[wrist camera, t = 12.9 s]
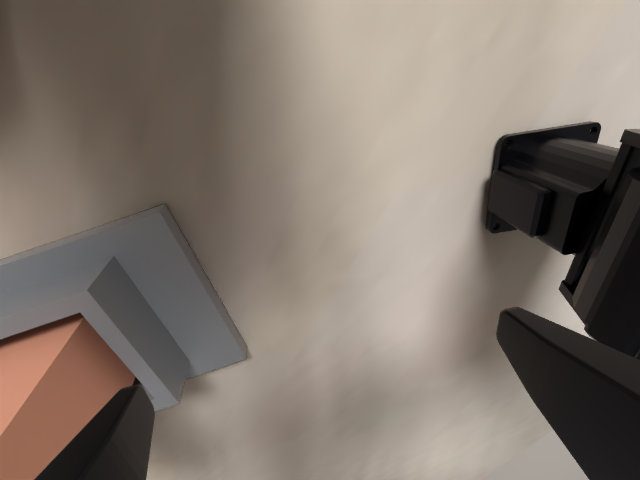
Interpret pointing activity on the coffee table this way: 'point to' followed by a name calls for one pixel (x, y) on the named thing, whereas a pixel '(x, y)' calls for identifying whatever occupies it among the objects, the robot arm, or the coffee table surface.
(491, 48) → the coffee table surface
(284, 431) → the coffee table surface
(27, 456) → the two-tone capped block
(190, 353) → the chassis
